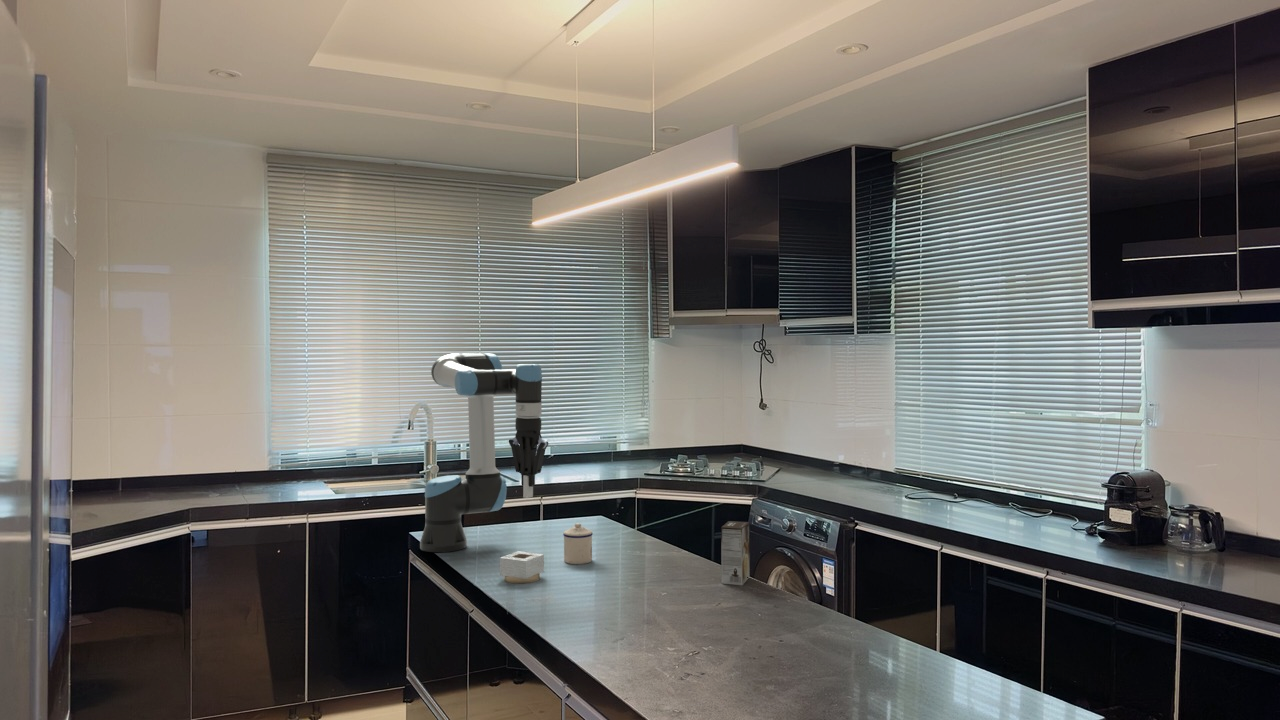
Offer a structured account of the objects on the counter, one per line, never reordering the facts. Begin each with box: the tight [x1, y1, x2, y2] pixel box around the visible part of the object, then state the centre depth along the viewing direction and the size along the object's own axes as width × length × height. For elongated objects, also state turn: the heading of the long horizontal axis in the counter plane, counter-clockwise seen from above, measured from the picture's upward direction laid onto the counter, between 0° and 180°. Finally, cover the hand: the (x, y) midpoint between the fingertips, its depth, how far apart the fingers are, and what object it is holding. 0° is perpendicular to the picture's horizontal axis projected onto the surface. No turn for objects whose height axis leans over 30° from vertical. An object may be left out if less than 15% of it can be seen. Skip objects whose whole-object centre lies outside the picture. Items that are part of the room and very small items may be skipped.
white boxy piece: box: [499, 550, 545, 579], centre depth 244 cm, size 9×9×5 cm
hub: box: [504, 558, 541, 584], centre depth 244 cm, size 10×10×6 cm
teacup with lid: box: [562, 522, 593, 565], centre depth 265 cm, size 12×9×12 cm
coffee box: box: [720, 520, 751, 586], centre depth 241 cm, size 9×6×16 cm
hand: (528, 497), depth 249 cm, fingers closed
